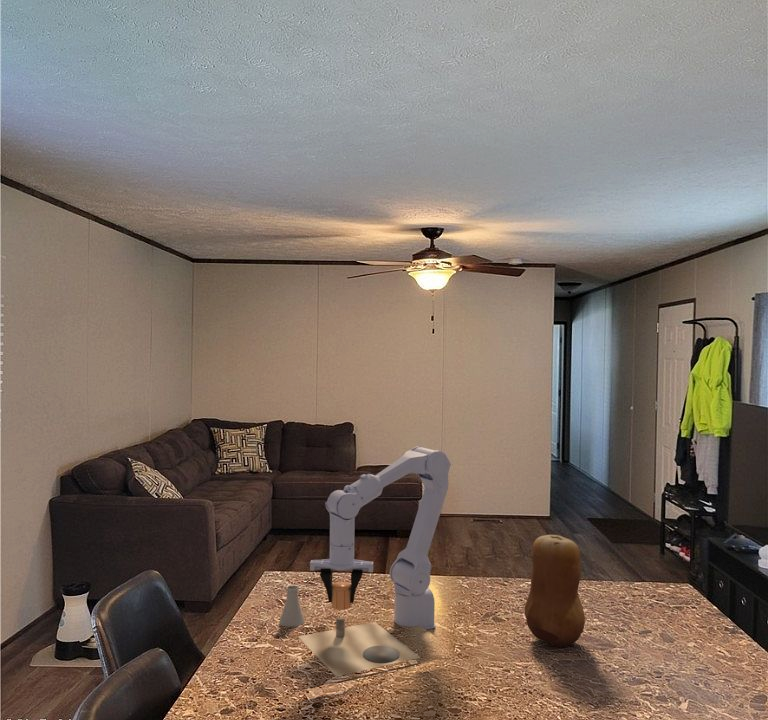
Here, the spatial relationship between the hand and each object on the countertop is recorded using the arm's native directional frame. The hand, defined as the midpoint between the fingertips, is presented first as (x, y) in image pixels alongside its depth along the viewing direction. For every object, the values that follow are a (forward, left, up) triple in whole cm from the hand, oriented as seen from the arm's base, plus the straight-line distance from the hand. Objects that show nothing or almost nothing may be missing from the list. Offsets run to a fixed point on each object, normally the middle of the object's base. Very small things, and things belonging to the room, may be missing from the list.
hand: (341, 601), depth 166 cm
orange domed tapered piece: (0, 0, -1) cm, 1 cm away
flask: (+7, -13, -10) cm, 18 cm away
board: (-1, +7, -10) cm, 12 cm away
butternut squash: (-45, +22, -10) cm, 51 cm away
